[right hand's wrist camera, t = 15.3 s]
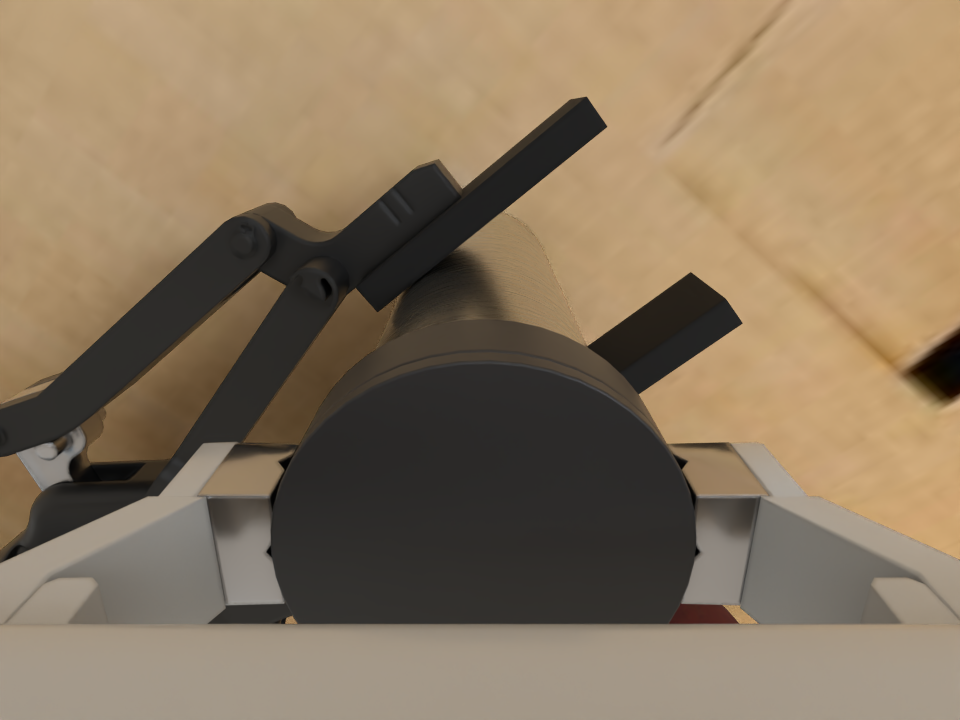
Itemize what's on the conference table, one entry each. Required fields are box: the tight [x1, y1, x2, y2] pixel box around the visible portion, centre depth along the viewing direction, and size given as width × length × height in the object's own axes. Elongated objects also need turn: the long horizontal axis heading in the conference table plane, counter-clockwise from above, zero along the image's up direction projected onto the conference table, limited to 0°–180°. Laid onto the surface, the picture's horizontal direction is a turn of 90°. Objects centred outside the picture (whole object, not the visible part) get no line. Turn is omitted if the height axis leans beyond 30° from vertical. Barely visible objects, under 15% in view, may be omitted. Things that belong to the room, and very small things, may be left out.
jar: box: [376, 213, 588, 349], centre depth 16 cm, size 5×5×15 cm
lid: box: [270, 319, 697, 624], centre depth 9 cm, size 6×6×2 cm
